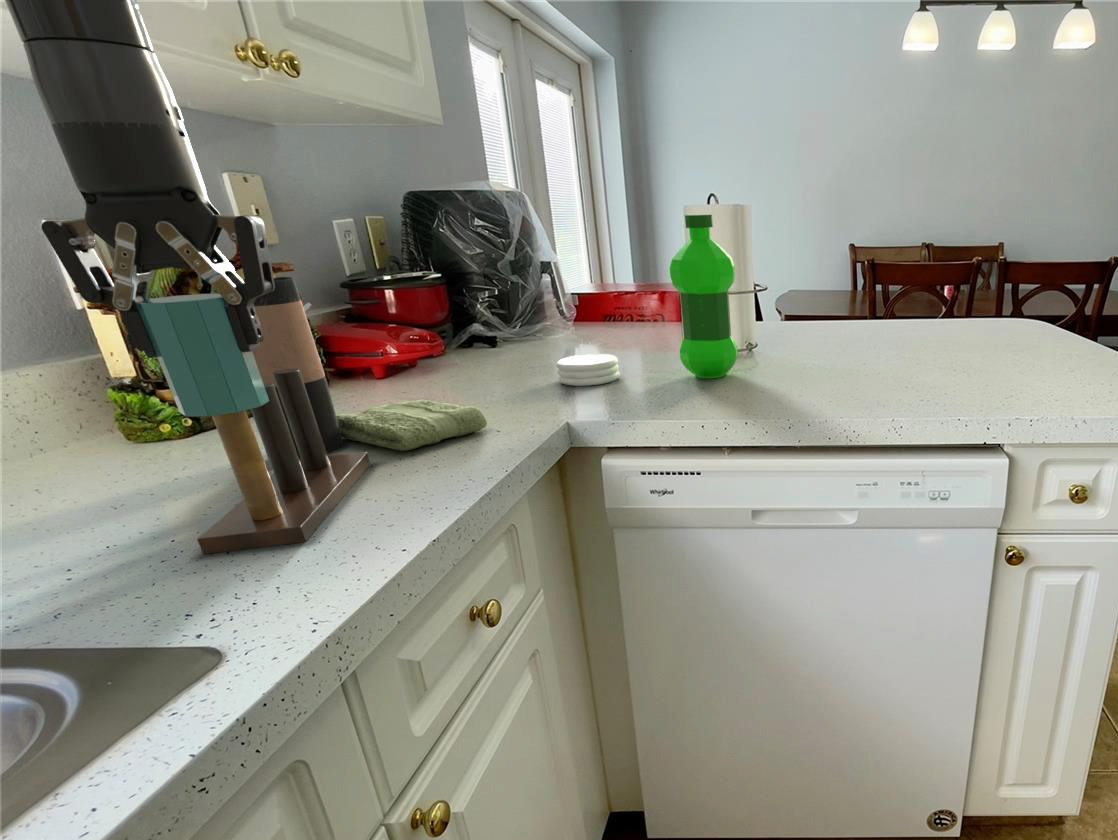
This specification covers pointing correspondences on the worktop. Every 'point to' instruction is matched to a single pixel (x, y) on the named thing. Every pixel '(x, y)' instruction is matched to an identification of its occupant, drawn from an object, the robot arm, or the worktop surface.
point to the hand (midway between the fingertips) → (205, 352)
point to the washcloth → (410, 424)
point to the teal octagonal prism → (202, 355)
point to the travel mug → (294, 354)
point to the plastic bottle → (704, 301)
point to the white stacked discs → (588, 369)
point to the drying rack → (280, 472)
